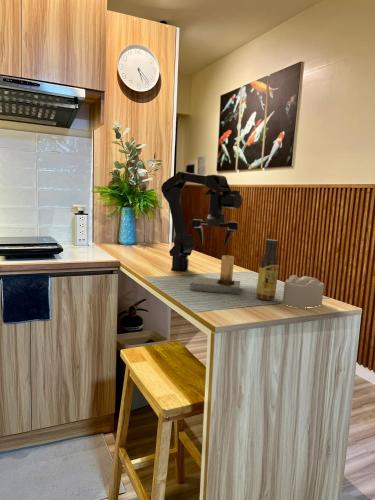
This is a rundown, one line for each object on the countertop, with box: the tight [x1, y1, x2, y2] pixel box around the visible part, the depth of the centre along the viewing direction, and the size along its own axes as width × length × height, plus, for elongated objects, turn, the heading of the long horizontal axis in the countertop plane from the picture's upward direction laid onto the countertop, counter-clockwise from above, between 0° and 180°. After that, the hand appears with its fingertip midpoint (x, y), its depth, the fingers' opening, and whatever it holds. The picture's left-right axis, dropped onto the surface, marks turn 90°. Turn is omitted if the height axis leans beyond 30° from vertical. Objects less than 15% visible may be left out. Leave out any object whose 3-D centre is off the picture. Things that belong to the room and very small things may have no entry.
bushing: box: [219, 254, 235, 285], centre depth 132 cm, size 4×4×12 cm
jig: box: [189, 276, 241, 295], centre depth 133 cm, size 17×10×2 cm, turn 80°
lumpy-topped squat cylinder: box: [282, 274, 325, 309], centre depth 120 cm, size 10×13×9 cm
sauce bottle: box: [255, 238, 280, 301], centre depth 123 cm, size 6×6×20 cm
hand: (213, 245), depth 150 cm, fingers open, 9 cm apart
